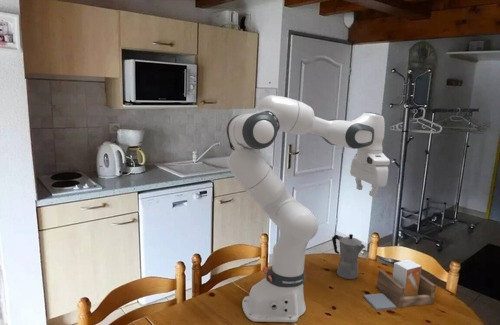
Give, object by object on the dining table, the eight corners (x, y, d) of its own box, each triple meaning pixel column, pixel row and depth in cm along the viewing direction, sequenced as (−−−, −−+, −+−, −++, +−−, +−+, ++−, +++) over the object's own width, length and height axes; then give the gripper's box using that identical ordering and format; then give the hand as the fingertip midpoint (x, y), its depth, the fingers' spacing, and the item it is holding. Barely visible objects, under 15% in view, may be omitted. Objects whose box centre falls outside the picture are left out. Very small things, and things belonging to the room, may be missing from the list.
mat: (376, 310, 128) (376, 308, 128) (363, 296, 137) (363, 294, 137) (396, 308, 130) (396, 306, 130) (382, 295, 139) (382, 293, 138)
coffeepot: (367, 276, 153) (371, 236, 149) (355, 284, 146) (359, 242, 143) (335, 263, 164) (339, 226, 160) (323, 270, 157) (327, 230, 154)
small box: (403, 302, 134) (407, 269, 132) (389, 293, 140) (393, 262, 138) (418, 297, 138) (422, 265, 136) (404, 289, 144) (408, 258, 141)
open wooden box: (398, 307, 131) (400, 288, 129) (377, 287, 144) (379, 270, 143) (433, 303, 134) (435, 285, 133) (409, 284, 147) (411, 267, 146)
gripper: (347, 152, 143) (345, 186, 145) (376, 161, 123) (372, 200, 126) (362, 152, 144) (359, 185, 147) (392, 161, 125) (388, 200, 127)
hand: (365, 192), depth 136 cm, fingers open, 8 cm apart
